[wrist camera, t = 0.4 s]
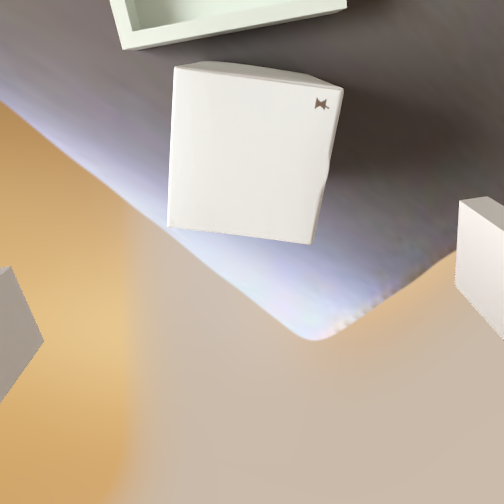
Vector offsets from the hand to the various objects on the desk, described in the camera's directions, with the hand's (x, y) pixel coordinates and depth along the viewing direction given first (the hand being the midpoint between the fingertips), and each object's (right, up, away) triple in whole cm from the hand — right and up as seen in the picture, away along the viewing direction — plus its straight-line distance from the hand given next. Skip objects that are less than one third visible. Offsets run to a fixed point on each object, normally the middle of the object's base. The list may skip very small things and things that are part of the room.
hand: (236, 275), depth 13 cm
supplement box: (0, +12, +24) cm, 27 cm away
